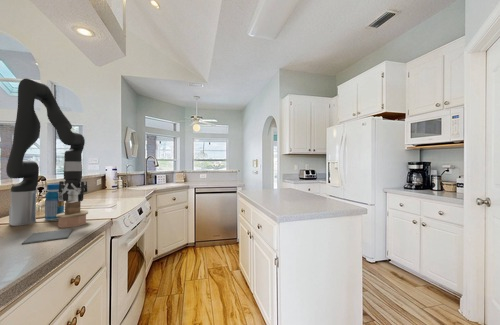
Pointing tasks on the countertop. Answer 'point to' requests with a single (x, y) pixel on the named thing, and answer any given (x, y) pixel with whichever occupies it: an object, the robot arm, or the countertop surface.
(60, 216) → the oak lid
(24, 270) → the countertop surface
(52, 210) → the beverage bottle
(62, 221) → the terracotta bowl
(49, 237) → the charcoal mat
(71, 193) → the plastic bottle
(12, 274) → the countertop surface
